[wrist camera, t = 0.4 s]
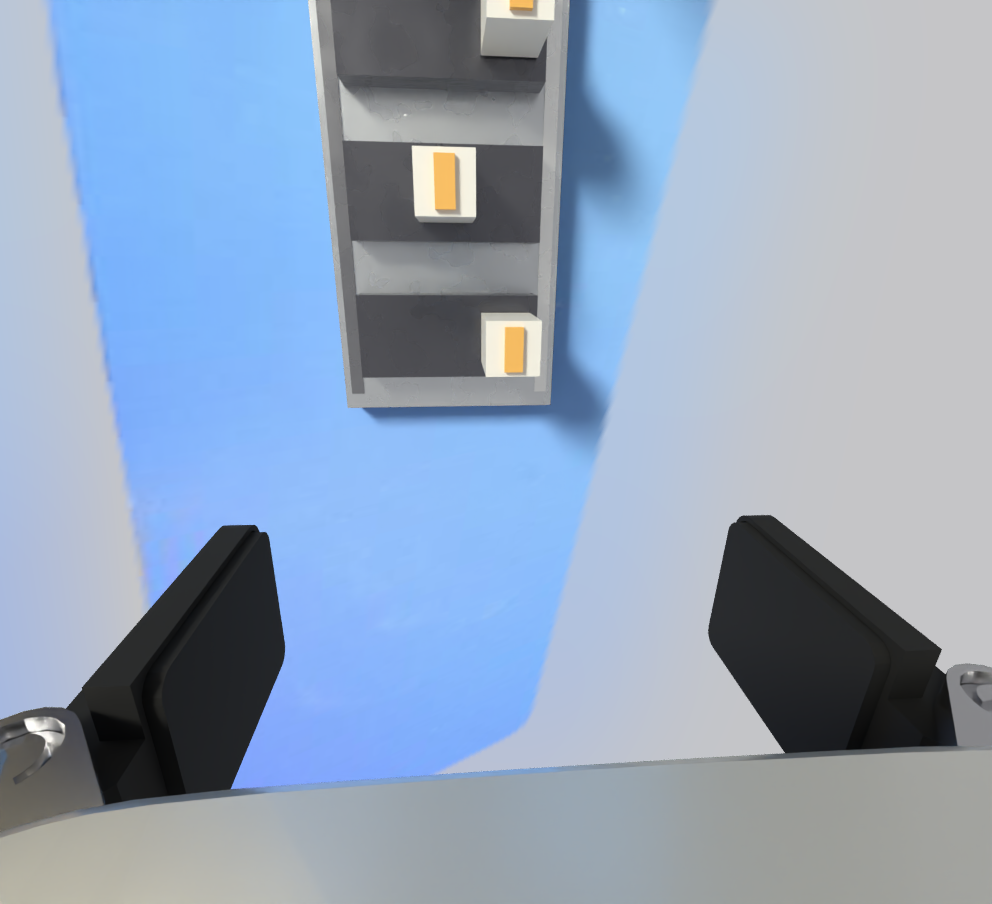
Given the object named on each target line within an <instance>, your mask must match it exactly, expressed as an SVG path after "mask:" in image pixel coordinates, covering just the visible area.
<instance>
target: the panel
mask: <svg viewBox="0 0 992 904" xmlns="http://www.w3.org/2000/svg"><path fill="white" fill-rule="evenodd" d="M308 4H309V14H310V25H311V35H312V45H313V55H314V66H315V76H316V86H317V97H318V107H319V117H320V127H321V138H322V148H323V158H324V168H325V179H326V189H327V199H328V209H329V220H330V230H331V240H332V250H333V261H334V271H335V281H336V292H337V302H338V312H339V322H340V333H341V343H342V353H343V363H344V374H345V384H346V394H347V404H348V408H364V407H434V406H505V405H550V403H551V382H552V361H553V340H554V319H555V298H556V277H557V256H558V236H559V215H560V194H561V173H562V152H563V131H564V110H565V89H566V69H567V48H568V27H569V6H570V0H555V7H554V22H553V24H552V26H551V28H550V31H549V33H548V35H547V38H546V40H545V42H544V45H543V47H542V49H541V51H540V54H539V56H538V58H530V57H507V56H483V55H481V0H308ZM412 146H442V147H476V218H475V220H474V221H473V223H431V222H419V221H418V219H417V218H416V217H415V210H414V186H413V163H412ZM481 313H531V314H532V315H534V316H535V317H537V318H538V319H540V320H541V321H542V336H541V361H540V376H534V377H486V376H485V372H484V369H483V366H482V362H481Z"/></svg>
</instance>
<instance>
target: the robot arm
mask: <svg viewBox="0 0 992 904" xmlns="http://www.w3.org/2000/svg"><path fill="white" fill-rule="evenodd" d="M708 631H709V632H708V633H709V639H710V642H711V645H712V646H713V648H714V650H715V651H716V652H717V654H718V655H719V657H720V658H721V660H722V661H723V663H724V664H725V666H726V667H727V669H728V670H729V671H730V673H731V674H732V676H733V677H734V679H735V680H736V682H737V683H738V685H739V686H740V688H741V689H742V691H743V692H744V693H745V695H746V697H747V698H748V699H749V701H750V702H751V704H752V705H753V707H754V708H755V710H756V711H757V713H758V714H759V716H760V717H761V718H762V720H763V721H764V723H765V724H766V726H767V727H768V729H769V730H770V732H771V733H772V735H773V736H774V738H775V739H776V741H777V742H778V743H779V745H780V746H781V748H782V749H783V751H784V752H785V753H783V754H765V755H749V756H748V755H747V756H729V757H712V758H693V759H676V760H661V761H643V762H627V763H611V764H594V765H578V766H562V767H548V768H547V767H546V768H530V769H514V770H499V771H483V772H468V773H453V774H439V775H424V776H409V777H395V778H380V779H365V780H351V781H336V782H321V783H307V784H294V785H281V786H268V787H255V788H242V789H231V787H232V784H233V782H234V779H235V777H236V775H237V772H238V770H239V767H240V765H241V763H242V760H243V758H244V755H245V753H246V751H247V748H248V746H249V743H250V741H251V739H252V736H253V734H254V731H255V729H256V727H257V724H258V722H259V719H260V717H261V715H262V712H263V710H264V707H265V705H266V703H267V700H268V698H269V695H270V693H271V691H272V688H273V686H274V683H275V681H276V679H277V676H278V674H279V671H280V669H281V667H282V664H283V661H284V655H285V642H284V635H283V628H282V622H281V615H280V608H279V602H278V595H277V588H276V581H275V575H274V568H273V561H272V555H271V548H270V541H269V537H268V535H267V533H266V532H259V530H258V528H257V526H255V525H229V526H222V527H221V528H220V529H219V530H218V531H217V532H216V533H215V534H214V536H213V537H212V538H211V539H210V540H209V541H208V542H207V544H206V545H205V546H204V547H203V548H202V549H201V551H200V552H199V553H198V554H197V555H196V556H195V557H194V559H193V560H192V561H191V562H190V563H189V564H188V566H187V567H186V568H185V569H184V570H183V571H182V573H181V574H180V575H179V576H178V577H177V578H176V579H175V581H174V582H173V583H172V584H171V585H170V586H169V588H168V589H167V590H166V591H165V592H164V593H163V594H162V596H161V597H160V598H159V599H158V600H157V601H156V603H155V604H154V605H153V606H152V607H151V608H150V609H149V611H148V612H147V613H146V614H145V615H144V616H143V618H142V619H141V620H140V621H139V622H138V623H137V625H136V626H135V627H134V628H133V629H132V630H131V632H130V633H129V634H128V635H127V636H126V637H125V638H124V640H123V641H122V642H121V643H120V644H119V645H118V646H117V648H116V649H115V650H114V651H113V652H112V654H111V655H110V656H109V657H108V658H107V659H106V660H105V662H104V663H103V664H102V665H101V666H100V667H99V668H98V670H97V671H96V672H95V673H94V674H93V675H92V677H91V678H90V679H89V680H88V681H87V682H86V683H85V685H84V686H83V687H82V691H81V692H80V693H79V694H78V695H77V696H76V697H75V699H74V700H73V701H72V702H71V703H70V704H69V706H68V707H67V708H66V709H65V708H60V707H58V708H57V707H43V708H38V709H33V710H28V711H23V712H21V713H18V714H15V715H12V716H9V717H7V718H4V719H1V720H0V904H992V668H991V667H987V666H984V665H976V664H959V665H954V666H953V667H951V668H950V669H948V671H947V673H946V674H944V673H943V672H942V671H941V670H940V669H938V668H937V667H936V666H935V665H936V662H937V660H938V657H939V655H940V653H941V650H942V649H941V648H939V647H938V646H937V645H936V644H934V643H933V642H932V641H931V640H929V639H928V638H927V637H925V636H924V635H923V634H922V633H920V632H919V631H918V630H917V629H915V628H914V627H913V626H911V625H910V624H909V623H908V622H906V621H905V620H904V619H902V618H901V617H900V616H899V615H898V614H896V613H895V612H894V611H892V610H891V609H890V608H888V607H887V606H886V605H885V604H884V603H882V602H881V601H880V600H879V599H877V598H876V597H875V596H873V595H872V594H871V593H870V592H868V591H867V590H866V589H864V588H863V587H862V586H861V585H859V584H858V583H857V582H856V581H854V580H853V579H852V578H851V577H849V576H848V575H847V574H845V573H844V572H843V571H842V570H840V569H839V568H838V567H837V566H835V565H834V564H833V563H832V562H830V561H829V560H828V559H826V558H825V557H824V556H823V555H821V554H820V553H819V552H818V551H816V550H815V549H814V548H812V547H811V546H810V545H809V544H807V543H806V542H805V541H804V540H802V539H801V538H800V537H798V536H797V535H796V534H795V533H794V532H792V531H791V530H790V529H788V528H787V527H786V526H785V525H783V524H782V523H781V522H779V521H778V520H777V519H776V518H774V517H773V516H771V515H757V516H756V515H754V516H741V517H739V519H738V520H737V522H736V523H733V524H731V526H730V527H729V531H728V535H727V540H726V545H725V550H724V555H723V560H722V565H721V570H720V574H719V579H718V584H717V589H716V594H715V598H714V603H713V608H712V613H711V618H710V623H709V629H708Z"/></svg>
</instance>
